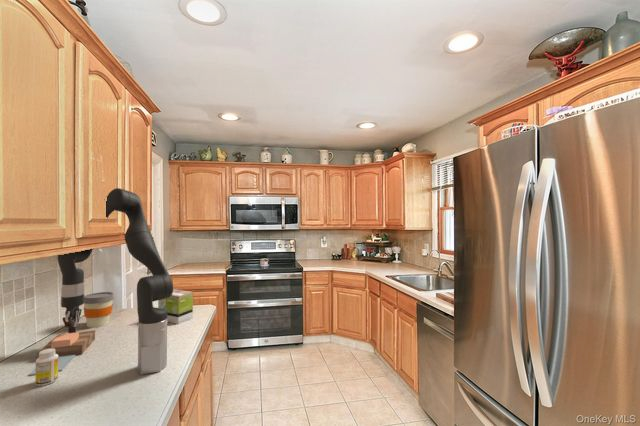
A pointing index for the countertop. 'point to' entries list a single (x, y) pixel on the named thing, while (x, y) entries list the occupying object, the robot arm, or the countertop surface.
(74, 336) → the salmon foam block
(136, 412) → the countertop surface
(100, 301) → the reusable coffee cup
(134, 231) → the robot arm
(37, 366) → the supplement bottle
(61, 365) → the mat
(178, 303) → the tea box
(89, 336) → the block
